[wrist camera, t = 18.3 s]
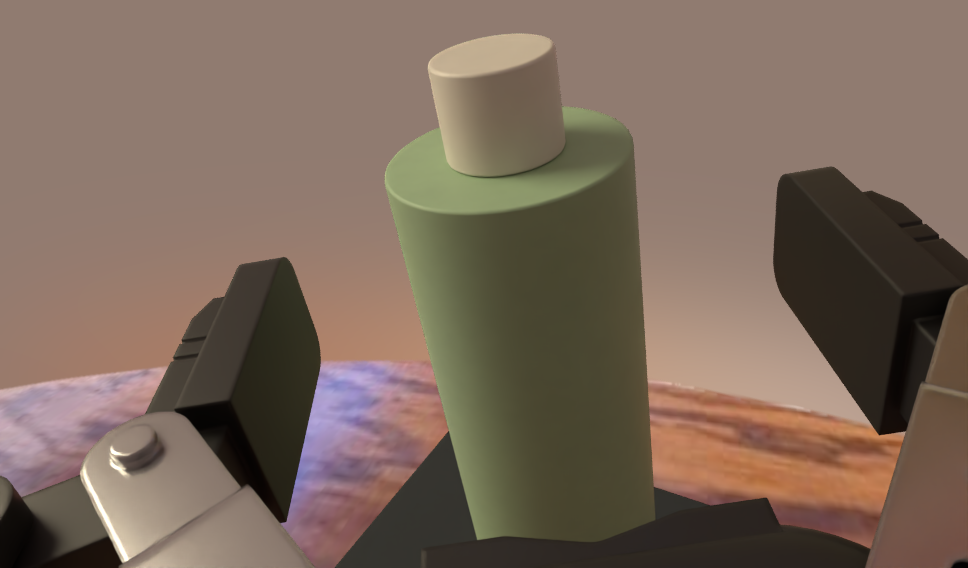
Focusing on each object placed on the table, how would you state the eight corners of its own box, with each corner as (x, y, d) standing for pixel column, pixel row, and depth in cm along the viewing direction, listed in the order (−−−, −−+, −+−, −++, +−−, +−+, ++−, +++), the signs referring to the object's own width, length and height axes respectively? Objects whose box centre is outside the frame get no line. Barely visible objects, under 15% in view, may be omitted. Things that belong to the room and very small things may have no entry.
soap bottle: (684, 567, 23) (668, 10, 14) (620, 713, 20) (545, 109, 11) (544, 513, 26) (454, 14, 17) (466, 635, 23) (302, 95, 13)
